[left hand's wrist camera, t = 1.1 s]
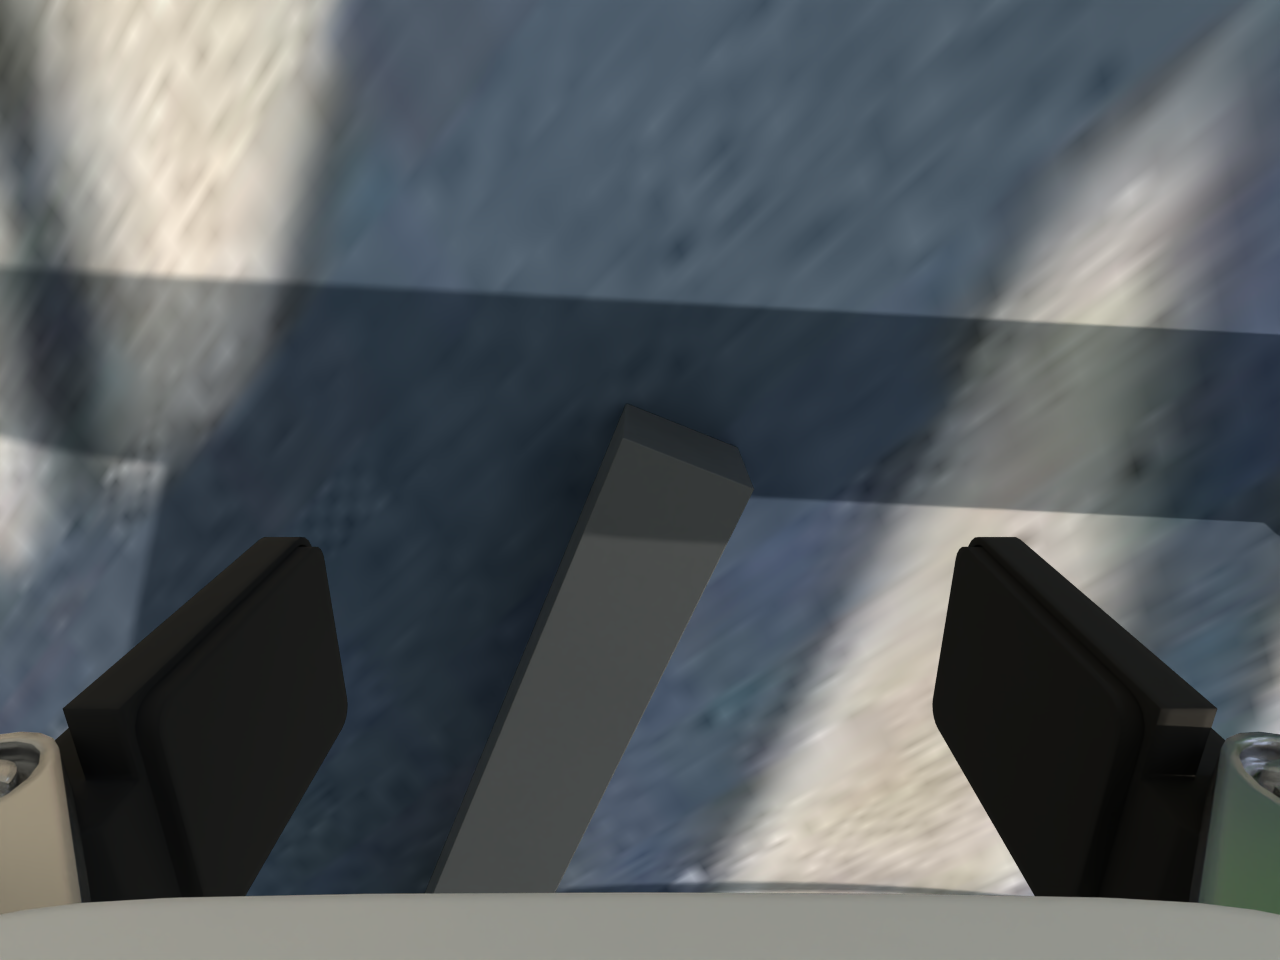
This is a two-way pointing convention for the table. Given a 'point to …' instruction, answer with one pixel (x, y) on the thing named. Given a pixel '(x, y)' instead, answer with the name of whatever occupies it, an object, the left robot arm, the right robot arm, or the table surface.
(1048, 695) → the left robot arm
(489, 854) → the post
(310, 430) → the table surface
